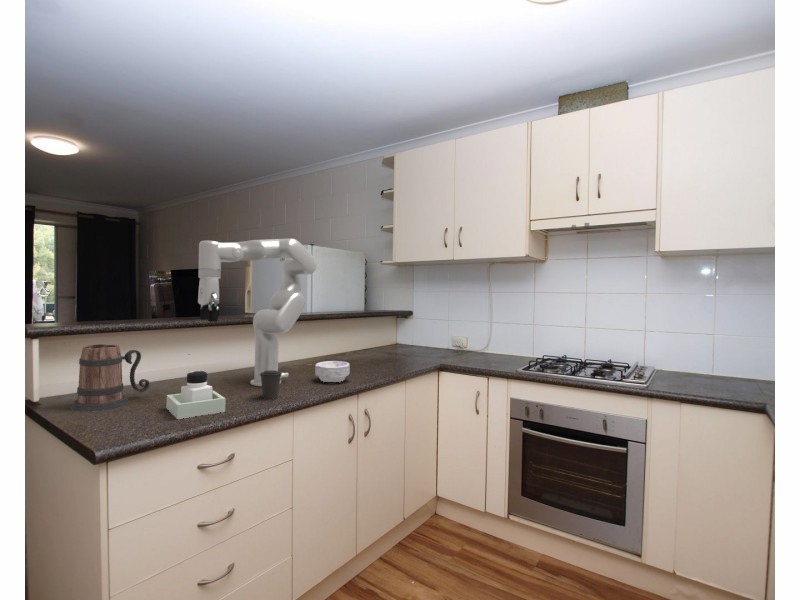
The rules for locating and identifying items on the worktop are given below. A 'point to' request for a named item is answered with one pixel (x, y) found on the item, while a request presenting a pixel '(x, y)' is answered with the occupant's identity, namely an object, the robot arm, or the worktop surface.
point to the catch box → (195, 406)
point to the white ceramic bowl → (332, 371)
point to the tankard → (104, 378)
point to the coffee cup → (270, 384)
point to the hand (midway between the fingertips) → (208, 320)
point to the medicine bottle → (196, 388)
